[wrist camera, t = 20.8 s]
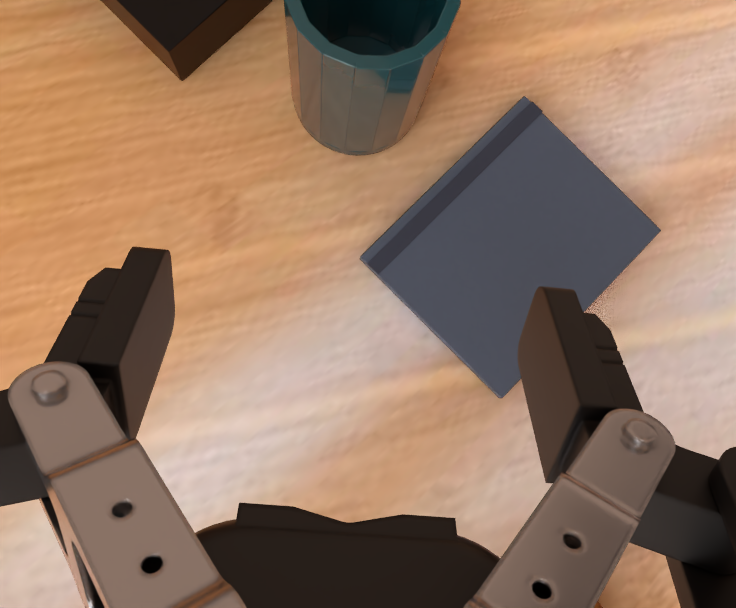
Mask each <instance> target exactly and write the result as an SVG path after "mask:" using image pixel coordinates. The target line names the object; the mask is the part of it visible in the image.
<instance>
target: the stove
mask: <svg viewBox="0 0 736 608" xmlns="http://www.w3.org/2000/svg"><path fill="white" fill-rule="evenodd" d="M101 1H102V2H103V3H104V4H105V5H106V6H107V7H108V8H109V9H110V10H111V11H112V12H113V13H114V14H115V15H116V16H117V17H118V18H119V19H120V20H121V21H122V22H123V23H124V24H125V25H126V26H127V27H128V28H129V29H130V30H131V31H132V32H133V33H134V34H135V35H136V36H137V37H138V38H139V39H140V40H141V41H142V42H143V43H144V44H145V45H146V46H147V47H148V48H149V49H150V50H151V51H152V52H153V53H154V54H155V55H156V56H157V57H158V58H159V59H160V60H161V61H162V62H163V63H164V64H165V65H166V66H167V67H168V68H169V69H170V70H171V71H172V72H173V73H174V74H175V75H176V76H177V77H178V78H179V79H180V80H182V81H183V80H184V79H185V78H186V77H187V76H188V75H190V74H191V73H192V72H193V71H194V70H195V69H196V68H197V67H199V66H200V65H201V64H202V63H203V62H204V61H205V60H206V59H207V58H209V57H210V56H211V55H212V54H213V53H214V52H215V51H216V50H218V49H219V48H220V47H221V46H222V45H223V44H224V43H225V42H226V41H228V40H229V39H230V38H231V37H232V36H233V35H234V34H235V33H237V32H238V31H239V30H240V29H241V28H242V27H243V26H244V25H245V24H247V23H248V22H249V21H250V20H251V19H252V18H253V17H254V16H256V15H257V14H258V13H259V12H260V11H261V10H262V9H263V8H264V7H266V6H267V5H268V4H269V3H270V2H271V1H272V0H101Z"/></svg>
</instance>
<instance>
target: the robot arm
mask: <svg viewBox="0 0 736 608" xmlns="http://www.w3.org/2000/svg"><path fill="white" fill-rule="evenodd" d="M174 317H175V302H174V289H173V277H172V264H171V255H170V252H169V250H163V249H153V248H142V247H132V248H131V249H130V251H129V253H128V255H127V257H126V260H125V262H124V264H123V266H122V268H121V269H115V268H104V269H103V270H102V271H100V272H99V273H98V274H96V275H95V276H94V277H92V278H91V279H90V280H89V281H87V283H86V285H85V287H84V289H83V291H82V292H81V294H80V296H79V298H78V302H76V304H75V306H74V307H73V309H72V311H71V315H69V317H68V319H67V321H66V322H65V324H64V326H63V328H62V330H61V332H60V334H59V336H58V337H57V339H56V341H55V343H54V345H53V347H52V349H51V351H50V352H49V354H48V356H47V358H46V360H45V362H44V363H43V364H39V365H36V366H34V367H31V368H29V369H28V370H26V371H24V372H23V373H21V374H20V375H19V376H18V377H17V378H16V379H15V380H14V381H13V382H12V384H11V386H10V388H9V389H6V390H2V391H0V506H5V505H10V504H15V503H20V502H25V501H30V500H35V499H39V500H40V503H41V505H42V507H43V509H44V512H45V514H46V516H47V518H48V521H49V523H50V525H51V527H52V529H53V532H54V534H55V536H56V538H57V541H58V543H59V545H60V547H61V549H62V552H63V554H64V556H65V558H66V561H67V563H68V565H69V567H70V570H71V572H72V575H73V577H74V580H75V583H76V585H77V588H78V591H79V594H80V596H81V599H82V601H83V604H84V606H85V608H594V606H595V605H596V603H597V601H598V599H599V597H600V595H601V593H602V591H603V590H604V588H605V586H606V584H607V582H608V580H609V578H610V576H611V575H612V573H613V571H614V569H615V567H616V565H617V563H618V561H619V560H620V558H621V556H622V554H623V552H624V550H625V548H626V547H627V545H628V543H629V542H630V543H633V544H635V545H638V546H641V547H643V548H646V549H649V550H652V551H654V552H657V553H660V554H663V555H665V556H666V559H667V562H668V566H669V569H670V572H671V576H672V579H673V582H674V586H675V589H676V592H677V596H678V599H679V603H680V606H681V608H736V447H733V448H729V449H728V450H726V451H725V452H724V453H723V454H722V456H721V457H720V459H719V460H717V459H714V458H711V457H708V456H705V455H702V454H699V453H696V452H693V451H690V450H687V449H685V448H682V447H679V446H677V445H675V442H674V439H673V437H672V435H671V433H670V432H669V431H668V429H667V428H666V427H665V426H664V425H663V424H662V423H661V422H659V421H658V420H657V419H655V418H654V417H652V416H650V415H648V414H646V413H644V412H643V410H642V407H641V405H640V402H639V400H638V397H637V395H636V392H635V390H634V387H633V385H632V382H631V380H630V377H629V375H628V373H627V370H626V368H625V365H623V360H622V358H621V355H620V353H619V351H617V345H616V343H615V340H614V338H613V336H612V333H611V331H610V329H609V328H608V327H607V326H606V325H605V324H604V323H603V322H602V321H601V320H600V319H599V318H598V317H597V316H596V315H595V314H590V313H583V310H582V308H581V305H580V302H579V299H578V297H577V294H576V292H575V291H574V290H573V289H565V288H554V287H544V286H540V287H538V288H537V290H536V292H535V294H534V297H533V300H532V303H531V306H530V309H529V312H528V315H527V318H526V321H525V324H524V327H523V330H522V333H521V336H520V340H519V345H518V366H519V370H520V374H521V379H522V383H523V387H524V392H525V396H526V400H527V404H528V409H529V413H530V417H531V421H532V426H533V430H534V434H535V439H536V443H537V447H538V451H539V456H540V460H541V464H542V468H543V473H544V477H545V481H546V483H553V484H552V486H551V487H550V489H549V490H548V492H547V493H546V494H545V496H544V497H543V499H542V500H541V502H540V503H539V504H538V506H537V507H536V509H535V510H534V512H533V513H532V514H531V516H530V517H529V519H528V520H527V522H526V523H525V524H524V526H523V527H522V529H521V530H520V532H519V533H518V534H517V536H516V537H515V539H514V540H513V542H512V543H511V545H510V546H509V547H508V549H507V550H506V552H505V553H504V555H503V556H502V557H501V559H500V558H499V557H498V556H496V555H495V554H493V553H492V552H491V551H489V550H488V549H486V548H484V547H483V546H481V545H479V544H477V543H475V542H473V541H471V540H469V539H466V538H464V537H461V536H458V535H457V531H456V521H455V518H445V517H431V516H417V515H397V516H391V517H385V518H378V519H372V520H366V521H360V522H354V523H346V522H341V521H338V520H335V519H332V518H328V517H325V516H322V515H319V514H315V513H312V512H309V511H306V510H302V509H299V508H296V507H291V506H277V505H263V504H249V503H239V507H238V513H237V519H236V520H230V521H225V522H221V523H218V524H214V525H212V526H209V527H207V528H204V529H202V530H200V531H198V532H196V533H194V531H193V529H192V528H191V526H190V525H189V523H188V521H187V520H186V518H185V516H184V515H183V513H182V511H181V510H180V508H179V506H178V505H177V503H176V501H175V500H174V498H173V497H172V495H171V493H170V492H169V490H168V488H167V487H166V485H165V483H164V482H163V480H162V478H161V477H160V475H159V473H158V472H157V470H156V468H155V467H154V465H153V464H152V462H151V460H150V459H149V457H148V455H147V454H146V452H145V450H144V449H143V447H142V446H141V444H140V443H139V441H138V440H137V439H136V436H137V433H138V431H139V428H140V425H141V422H142V419H143V416H144V413H145V410H146V407H147V404H148V401H149V398H150V395H151V393H152V390H153V387H154V384H155V381H156V378H157V375H158V372H159V369H160V366H161V363H162V360H163V358H164V355H165V352H166V349H167V346H168V343H169V340H170V337H171V334H172V330H173V325H174Z"/></svg>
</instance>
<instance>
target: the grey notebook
mask: <svg viewBox="0 0 736 608" xmlns="http://www.w3.org/2000/svg"><path fill="white" fill-rule="evenodd" d="M542 112H543V111H542V110H541V109H540V108H539V107H538V106H537V105H535V104H534V103H533V102H530V101H529V100H528V99H527V98H526V97H525V96H524V97H523V98H522V99H521V100H520V101H519V102H518V103H517V104H515V105H514V106H513V107H512V108H511V109H510V110H509V111H508V112H507V113H506V114H505V115H504V116H503V117H502V118H501V119H500V120H499V121H498V122H497V123H496V124H495V125H494V126H493V127H492V128H491V129H490V130H489V131H488V132H487V133H486V134H485V135H484V136H483V137H482V138H481V139H480V140H479V141H478V142H477V143H476V144H475V145H474V146H473V147H472V148H471V149H470V150H469V151H468V152H467V153H466V154H465V155H463V156H462V157H461V158H460V159H459V160H458V161H457V162H456V163H455V164H454V165H453V166H452V167H451V168H450V169H449V170H448V171H447V172H446V173H445V174H444V175H443V176H442V177H441V178H440V179H439V180H438V181H437V182H436V183H435V184H434V185H433V186H432V187H431V188H430V189H429V190H428V191H427V192H426V193H425V194H424V195H423V196H422V197H421V198H420V199H419V200H418V201H417V202H416V203H415V204H414V205H413V206H411V207H410V208H409V209H408V210H407V211H406V212H405V213H404V214H403V215H402V216H401V217H400V218H399V219H398V220H397V221H396V222H395V223H394V224H393V225H392V226H391V227H390V228H389V229H388V230H387V231H386V232H385V233H384V234H383V235H382V236H381V237H380V238H379V239H378V240H377V241H376V242H375V243H374V244H373V245H372V246H371V247H370V248H369V249H368V250H367V251H366V252H365V253H364V254H363V255H362V256H361V257H360V260H361V261H362V262H363V263H364V264H365V265H366V266H367V267H368V268H369V269H370V270H371V271H372V272H373V273H374V274H375V275H376V276H377V277H378V278H379V279H380V280H381V281H382V282H383V283H384V284H385V285H386V286H387V287H388V288H389V289H390V290H391V291H392V292H393V293H394V294H395V295H396V296H397V297H398V298H399V299H400V300H401V301H402V302H403V303H404V304H405V305H406V306H407V307H408V308H409V309H410V310H411V311H412V312H413V313H414V314H415V315H416V316H417V317H418V318H419V319H420V320H421V321H422V322H423V323H424V324H425V325H426V326H427V327H428V328H429V329H430V330H431V331H432V332H433V333H434V334H435V335H436V336H437V337H438V338H439V339H440V340H441V341H442V342H443V343H444V344H445V345H446V346H447V347H448V348H449V349H450V350H451V351H452V352H453V353H454V354H455V355H456V356H457V357H458V358H459V359H460V360H462V361H463V362H464V363H465V364H466V365H467V366H468V367H469V368H470V369H471V370H472V371H473V372H474V373H475V374H476V375H477V376H478V377H479V378H480V379H481V380H482V381H483V382H484V383H485V384H486V385H487V386H488V387H489V388H490V389H491V390H492V391H493V392H494V393H495V394H496V395H497V396H498V397H499V398H503V397H504V396H505V395H506V394H507V393H508V391H509V390H510V389H511V388H512V387H513V386H514V385H515V384H516V383H517V382H518V381H519V380H520V379H521V374H520V370H519V366H518V345H519V340H520V336H521V333H522V330H523V327H524V324H525V321H526V318H527V315H528V312H529V309H530V306H531V303H532V300H533V297H534V294H535V292H536V290H537V288H538V287H540V286H544V287H554V288H565V289H573V290H574V291H575V292H576V294H577V297H578V299H579V302H580V305H581V308H582V310H583V312H584V311H585V310H586V309H587V308H588V307H589V306H590V305H591V304H592V303H593V302H594V301H595V300H596V299H597V298H598V296H599V295H600V294H601V293H602V292H603V291H604V290H605V289H606V288H607V287H608V286H609V285H610V284H611V283H612V282H613V281H614V280H615V279H616V277H617V276H618V275H619V274H620V273H621V272H622V271H623V270H624V269H625V268H626V267H627V266H628V265H629V264H630V263H631V262H632V261H633V260H634V258H635V257H636V256H637V255H638V254H639V253H640V252H641V251H642V250H643V249H644V248H645V247H646V246H647V245H648V244H649V243H650V242H651V241H652V239H653V238H654V237H655V236H656V235H657V234H658V233H659V232H660V231H661V230H660V229H659V228H658V227H657V226H656V225H655V224H654V223H653V222H652V221H651V220H650V219H649V218H648V217H647V216H646V215H645V214H644V213H643V212H642V211H641V210H640V209H639V208H638V207H637V206H636V205H635V204H634V203H633V202H632V201H631V200H630V199H629V198H628V197H627V196H626V195H625V194H624V193H623V192H622V191H621V190H620V189H619V188H618V187H617V186H616V185H615V184H614V183H613V182H612V181H611V180H610V179H609V178H608V177H607V176H606V175H605V174H604V173H603V172H602V171H600V170H599V169H598V168H597V167H596V166H595V165H594V164H593V163H592V162H591V161H590V160H589V159H588V158H587V157H586V156H585V155H584V154H583V153H582V152H581V151H580V150H579V149H578V148H577V147H576V146H575V145H574V144H573V143H572V142H571V141H570V140H569V139H568V138H567V137H566V136H565V135H564V134H563V133H562V132H561V131H560V130H559V129H558V128H557V127H556V126H555V125H554V124H553V123H552V122H551V121H550V120H549V119H548V118H547V117H546V116H545V115H544V114H543V113H542Z"/></svg>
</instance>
